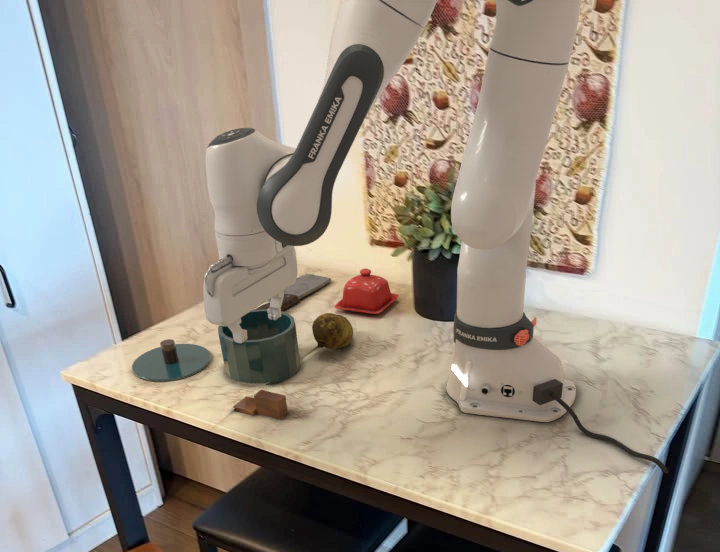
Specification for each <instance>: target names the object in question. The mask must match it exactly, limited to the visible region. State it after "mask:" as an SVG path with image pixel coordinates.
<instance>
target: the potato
mask: <svg viewBox="0 0 720 552" xmlns="http://www.w3.org/2000/svg"><path fill="white" fill-rule="evenodd" d="M311 330H312V331H311V332H312V335H313V338H314V340H315V342H316V343H317V346H318V347H319V348H322V349H323V348H325V349H328V350H336V349H342V348H345V347H347V346H348V345H349V344H350V343H351V342H352V340H353V337H354V327H353V325H352V323H351V322H350V320H349V319H348V318H347V317H346V316H345V315H344V316H343V315H341V314H336V313H332V312H325V313H322V314H320V315H318V316H317V317H316V318H315V320H313V322H312V326H311Z"/></svg>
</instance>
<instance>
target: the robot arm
mask: <svg viewBox="0 0 720 552" xmlns="http://www.w3.org/2000/svg"><path fill="white" fill-rule="evenodd" d="M438 1H440V0H340V3H339V6H338V10H337V12H336V16H335V19H334V22H333V27H332V31H331V36H330V41H329V48H328V58H327V63H326V70H325V75H324V80H323V84H322V88H321V91H320V94H319V97H318V100H317V102H316V104H315V107H314V108H313V111H312V113H311V115H310V117H309V119H308V121H307V124H306V126H305V128H304V131H303V132H302V135H301V137H300V139H299V142H298V143H297V146H296V147H292V146H288V145H287V144H286V145H285V144H282V143H280V142H277V141H275V140H272V139H271V138H268V137H266V136H265V135H263V134H262V133H261V132H260V131H258V130H257V129H256V128H251V127H239V128H235V129H230V130H228V131H224V132H222V133H221V134H218V135H217V136H215V137H214V138H213V139H212V140H211V141H210V142H209V143H208V145H207V147H206V149H205V157H204V158H205V163H204V164H205V174H206V175H205V176H206V185H207V191H208V198H209V201H210V205H211V206H212V208H213V212H214V223H213V224H214V225H213V226H214V234H215V240H216V241H215V242H216V246H217V252H218V258H219V260H218V261H216V262H212V263H211V264H209V266H208V269H207V271H206V273H205V274H204V276H203V285H202V286H203V288H202V290H203V306H204V315H205V318H206V320H207V321H208V322H209V323H210V324H212V325H215V326H219V325H220V326H227V327H228V328H229V329H230V330H231V331H232V333H233V339H234V341H235V342H237V343H243V342H244V341H246V340H247V339H248V336H247V330H244V329H242V328H241V327H240V325H239V324H240V323H241V317H242V316H244V315H246V314H247V313H249V312H250V311H252V310H254V309H256V308H258V307H260V306H262V305H264V304H265V303H266V302H267V301H270V302H269V303H270V307H269V308H268V309H267V313H268V318H269V319H271V320H277V319H278V318H280V317H281V305H282V301H283V297H284V291H283V290H285V289H286V288H288V287H290V286H291V285H293V284H294V283H295V281H296V278H298V260H297V253H296V248H295V247H303V246H307V245H310V244H312V243H314V242H316V241H317V240H319V239H320V238H322V236H323V235H324V234H325V232H326V231H327V229H328V227H329V225H330V222H331V219H332V212H333V211H332V208H333V191H334V186H335V183H336V180H337V178H338V175H339V173H340V171H341V168H342V166H343V165H344V163H345V161H346V158H347V156H348V154H349V152H350V150H351V148H352V146H353V144H354V142H355V140H356V138H357V136H358V134H359V131H360V129H361V127H362V125H363V124H364V122H365V120H366V117H367V116H368V114H369V112H371V109H372V108H373V107H374V105H375V104H376V102H377V100H378V99H379V98H380V96H381V95H382V94H383V92H384V91H385V89H386V88H387V87H388V86H389V84H390V82H391V81H392V80H393V79H394V77H395V76H396V75H397V73H398V72H399V71H400V69H401V67H402V66H403V65H404V64H405V62H406V61H407V59H408V57H409V56H410V54H411V52H412V51H413V49H414V48H415V46H416V45H417V42H418V41H419V39H420V37H421V36H422V34H423V32H424V30H425V27H427V24H428V22H429V20H430V17H431V15H432V13H433V12H434V9H435V7H436V5H437V3H438ZM581 2H582V0H495V6H496V7H495V8H496V11H495V24H494V28H493V31H492V35H491V40H490V45H489V49H488V54H487V58H486V62H485V68H484V72H483V77H482V81H481V87H480V91H479V96H478V100H477V105H476V108H475V113H474V117H473V120H472V123H471V127H470V131H469V134H468V137H467V141H466V145H465V149H464V152H463V155H462V160H461V164H460V168H459V172H458V175H457V179H456V183H455V188H454V191H453V195H452V199H451V205H450V206H451V207H450V222H451V225H452V229H453V231H454V233H455V235H456V236H457V238H458V239H459V240H460V250H459V258H458V263H457V272H456V273H457V274H456V275H457V277H456V311H455V313H454V316H453V327H452V333H453V343H454V352H453V358H452V364H451V370H450V374H449V376H448V380H447V383H446V386H445V389H446V392H447V395H448V396H449V397H450V398H451V399H452V400H454V401H455V402H456V403H457V404H458V407H459V410H460V411H461V412H463V413H464V414H472V415H479V416H488V417H497V418H506V419H514V420H522V421H532V422H539V423H551V422H553V421H555V420H558V419H559V418H561V417H563V416H564V415H565V414H566V413H568V414H569V415H570V417H571V418H572V420H573V421H574V423H575V425H576V427H577V428H578V429H579V431H580V432H582V433H583V434H584V435H586V436H588V437H590V438H592V439H593V438H594V439H598V440H603V441H606V442H609V443H611V444H613V445H615V446H616V447H617V448H619V449H621V450H622V451H624V452H626V453H627V454H629V455H631V456H633V457H635V458H639V459H642V460H646V461H649V462H652V463H654V464H655V465H656V466H658V468H659V469H660V470H661V472H662V473H663V474H669V470H668V468H667V467H666V465H665V464H664V463H663V462H662V461H661V460H660V459H658V458H657V457H655V456H653V455H649V454H645V453H641V452H638V451H636V450H633V449H631V448H630V447H628V446H627V445H625V444H624V443H622V442H620V441H619V440H617V439H615V438H613V437H611V436H608V435H605V434H600V433H595V432H593V431H590V430H588V429H587V428H585V426H584V425H583V424H582V422H581V421H580V419H579V417H578V416H577V413H576V412H575V411H574V410H573V409H572V408H571V407H572V406H573V404H574V402H575V400H576V397H577V389H576V385H575V383H574V382H573V381H572V380H569V379H566V378H565V374H564V366H563V362H562V360H561V358H560V357H559V356H558V355H557V354H556V353H554V352H553V351H552V350H550V349H549V348H548V347H547V346H546V345H545V344H544V343H542V342H541V341H540V340H538V339H537V337H535V336H534V330H535V327H536V326H537V317H534V318H533V319H532V320H530V319H529V318H528V316H527V315H526V313H525V311H524V308H525V307H524V306H525V294H526V280H527V268H528V260H529V259H528V258H529V251H530V244H531V234H532V225H533V218H534V217H533V216H534V207H535V198H536V186H537V176H538V174H539V169H540V166H541V163H542V159H543V156H544V153H545V150H546V146H547V142H548V140H549V136H550V132H551V130H552V126H553V123H554V119H555V117H556V112H557V108H558V104H559V100H560V97H561V93H562V90H563V86H564V82H565V79H566V76H567V71H568V67H569V64H570V61H571V56H572V53H573V49H574V44H575V41H576V40H575V39H576V35H577V30H578V23H579V18H580V12H581V11H580V10H581Z"/></svg>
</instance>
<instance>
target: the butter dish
mask: <svg viewBox="0 0 720 552" xmlns="http://www.w3.org/2000/svg"><path fill="white" fill-rule="evenodd" d="M399 297H400V296H399V294H397V293H392V292H391V287H390V284H389V282H388V280H387V279H386V278H385V277H382V276H379V275H375V274H372V270H371V269H369V268H362V269H360V270H359V274H358V275H355V276H354V277H352V278H350V279H349V280H347V282H346V283H345V284H344V286H343V292H342V298H341V300H339V301H337V303H336V304H335V305H334V308H335V309H337V310H344V311H349V312H355V313H362V314H369V315H378V314H380V313H382V312H383V311H385V309H387V308H388V307H389V306H390V305H391V304H393V303H394V302H395V301H396V300H397V299H398V298H399Z"/></svg>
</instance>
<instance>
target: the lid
mask: <svg viewBox="0 0 720 552" xmlns="http://www.w3.org/2000/svg"><path fill="white" fill-rule="evenodd" d="M159 345H160V346H158V347H156V348H153V349H150V350H148V351H146V352H144V353H142V354H140V355H139V356H138V357H137V358H135V360H134V361H133V363H132V365H131V370H132V373H133V374H134V375H135V376H136V377H137V378H138V379H141V380H144V381H147V382H153V383H155V382H158V383H161V382H165V383H166V382H173V381H174V382H175V381H178V380H183V379H186V378H189V377H192V376H194V375H196V374H198V373H200V372H202V371H203V370H204V369H205V368H207V367H208V365H210V363H211V360H212V356H211V352H210V351H209V350H208V349H207V348H206V347H204V346H201V345H199V344H194V343H176V341H175V340H174V339H172V338H171V339H170V338H169V339H164V340H161V341H160V343H159Z"/></svg>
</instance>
